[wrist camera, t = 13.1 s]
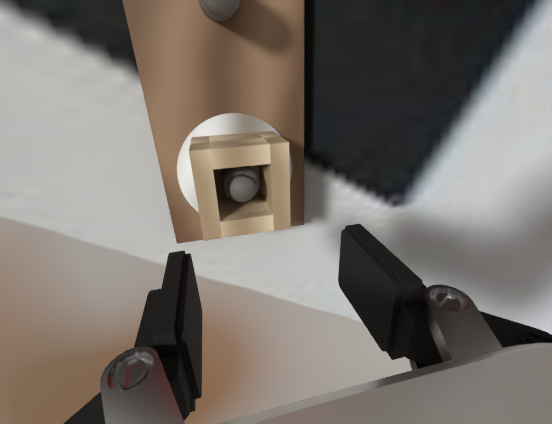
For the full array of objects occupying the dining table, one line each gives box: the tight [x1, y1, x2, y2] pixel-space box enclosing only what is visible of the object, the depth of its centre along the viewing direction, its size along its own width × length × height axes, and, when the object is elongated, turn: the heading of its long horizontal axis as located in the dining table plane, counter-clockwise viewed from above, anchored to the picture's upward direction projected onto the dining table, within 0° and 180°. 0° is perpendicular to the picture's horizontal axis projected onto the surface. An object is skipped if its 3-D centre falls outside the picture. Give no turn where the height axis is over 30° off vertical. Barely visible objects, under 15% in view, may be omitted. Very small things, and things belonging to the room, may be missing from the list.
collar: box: [189, 131, 291, 241], centre depth 21 cm, size 6×6×5 cm
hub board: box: [123, 0, 304, 243], centre depth 20 cm, size 12×24×6 cm, turn 2°
